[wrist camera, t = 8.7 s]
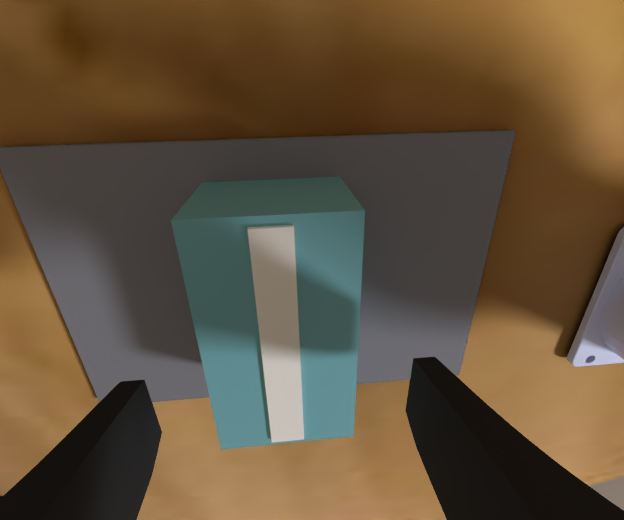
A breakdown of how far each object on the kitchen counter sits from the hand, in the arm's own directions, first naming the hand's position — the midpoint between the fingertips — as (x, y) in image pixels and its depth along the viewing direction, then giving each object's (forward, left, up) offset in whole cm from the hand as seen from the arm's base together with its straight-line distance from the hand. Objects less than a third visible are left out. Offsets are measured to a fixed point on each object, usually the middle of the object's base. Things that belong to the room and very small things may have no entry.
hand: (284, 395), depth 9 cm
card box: (0, 0, -6) cm, 6 cm away
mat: (0, 0, -6) cm, 6 cm away
